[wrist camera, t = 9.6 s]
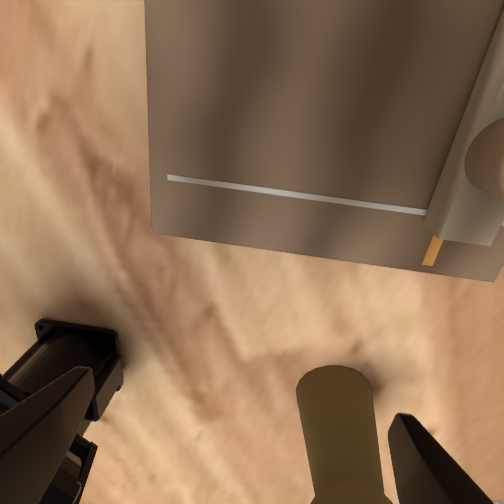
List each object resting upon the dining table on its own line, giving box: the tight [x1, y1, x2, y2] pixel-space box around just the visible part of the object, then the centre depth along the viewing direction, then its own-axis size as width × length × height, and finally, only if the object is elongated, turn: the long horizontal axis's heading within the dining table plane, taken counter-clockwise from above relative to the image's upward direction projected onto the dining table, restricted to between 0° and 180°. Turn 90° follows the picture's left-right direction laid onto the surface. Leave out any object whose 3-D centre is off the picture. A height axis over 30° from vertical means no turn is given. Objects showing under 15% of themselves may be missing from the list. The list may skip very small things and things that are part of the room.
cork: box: [296, 366, 393, 504], centre depth 21 cm, size 6×6×11 cm
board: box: [145, 0, 504, 282], centre depth 16 cm, size 20×14×2 cm
